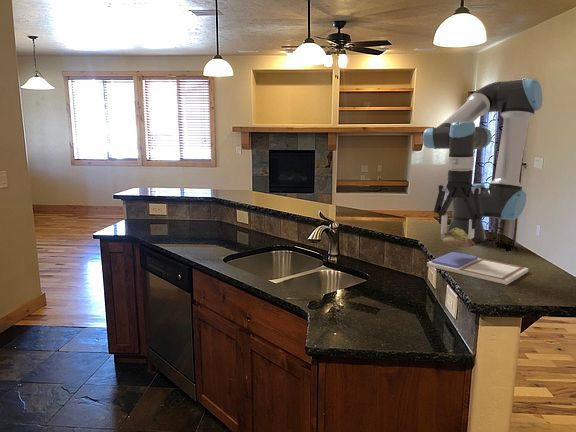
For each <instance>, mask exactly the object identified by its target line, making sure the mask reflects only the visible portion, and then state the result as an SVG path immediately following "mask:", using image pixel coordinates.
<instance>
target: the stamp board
mask: <svg viewBox="0 0 576 432" xmlns="http://www.w3.org/2000/svg"><path fill="white" fill-rule="evenodd" d="M426 266H427V267H429V268H434V269H439V270H443V271H447V272H450V273H451V272H452V273H456V274H459V275H464V276H467V277H468V276H469V277H471V278H472V277H473V278H475V279H476V278H477V279H480V280H481V279H482V280H486V281H489V282H493V283H497V284H503V285H506V286H508V285H509V284H510V283H512V282H515V280H518V279H519V278H520V277H523V276H524V275H525V274H527V273H529V268H528V267H525V266H522V265H521V266H520V265H517V264H516V265H515V264H512V263H511V264H510V263H507V262H502V261H496V260H492V259H486V258H479V257H478V256H475V255H472V254H466V253H461V252H456V251H451V252H448V253H447V254H444V255H441V256H438V257H436V258H434V259H432V260H430V261H428V262H426Z"/></svg>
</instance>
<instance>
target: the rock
mask: <svg viewBox="0 0 576 432" xmlns="http://www.w3.org/2000/svg"><path fill="white" fill-rule="evenodd" d="M439 240H440V241H441V242H443V243H444V244H445V245H446V246H447V247H460V248H471V247H474V246H476V244H477V243H474V242H472V240H471V239H468V235H467V234H466V233H465V232H464V231H463V230H462V229H459V228H454V229H451V230H450V231H449V232H448V233H445V234H440V236H439Z"/></svg>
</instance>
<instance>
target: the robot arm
mask: <svg viewBox="0 0 576 432" xmlns="http://www.w3.org/2000/svg"><path fill="white" fill-rule="evenodd" d="M541 86H542V85H541V83H540V81H539V80H537V79H536V78H530V79H528V78H527V79H526V78H523V79H516V80H502V81H495V82H491V83H489V84H486V85H484V86H482V87H481V88H479V89H476V90H475V91H474V92H473V93H472V94H470V95H469V96H468V97H467V99H466V102H464V103H463V104H462V105H461V106H460V107H459V108H458V109H456V110H455V111H454V112H453V113H452V114H451V115H449V116H448V117H447V118H446V119H445V120H444V121H443V122H442V123H440V124H439V125H438V126H437V127H434V126H433V127H427V128H425V130H424V131H423V134H422V144H423V145H424V147H425V148H427V149H434V150H438V149H439V150H440V149H441V150H447V149H449V150H448V164H447V165H448V169H449V170H448V171H447V184H439V185H438V194H437V197H436V202H435V205H434V208H433V212H434V213H436V214H437V215H438V223H439V225H440V235H443V234H446V233H448V232H449V231H450V230H451V229H454V228H459V229H462V230H463V231H464V232H465V233H466V234H467V235H468V239H471V240H472V242H474V243H475V244H477V243H483V242H485V241H486V231H485V228H484V223H483V218H484V217H485V218H491V219H492V218H493V219H499V220H503V221H504V220H507V221H508V220H511V221H515V220H517V219H518V218H519V217H520V216H521V214H522V213H523V211H524V209H525V206H526V203H527V193H526V191H524V190H522V189H523V186H522V184H521V183H520V181H519V180H520V176H521V175H520V174H521V170H522V162H523V156H524V151H525V145H526V140H527V139H526V138H527V132H528V127H529V120H530V119H532V118H533V117H534V116H535V112H536V111H538V110H540V109H541V108H542V105H543V91H542V87H541ZM494 112H495V113H497V112H498V113H499V112H500V116H501V117H502V118H503V125H502V129H501V130H502V131H501V136H500V137H501V138H500V141H499V149H498V154H497V162H496V168H495V173H494V179H493V180H492V181H490V182H489V186H488V187H486V185H485V183H473V170H472V169H473V168H474V150H481V149H484V148H487V146H489V145H490V144H491V142H492V139H493V138H492V133H491V131H490V129H488V128H487V127H484V126H476V123H475V121H476V120H477V119H478V118H479V117H482V116H485V115H486V114H488V113H494ZM447 191H448V195H447V196H446V192H447ZM445 196H446V199H445V201H444V198H445ZM451 204H452V212H451V213H452V214H451V216H452V217H451V221H450V224H449V226H448V214H447V211H448V209H449V208H450V206H451Z"/></svg>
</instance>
